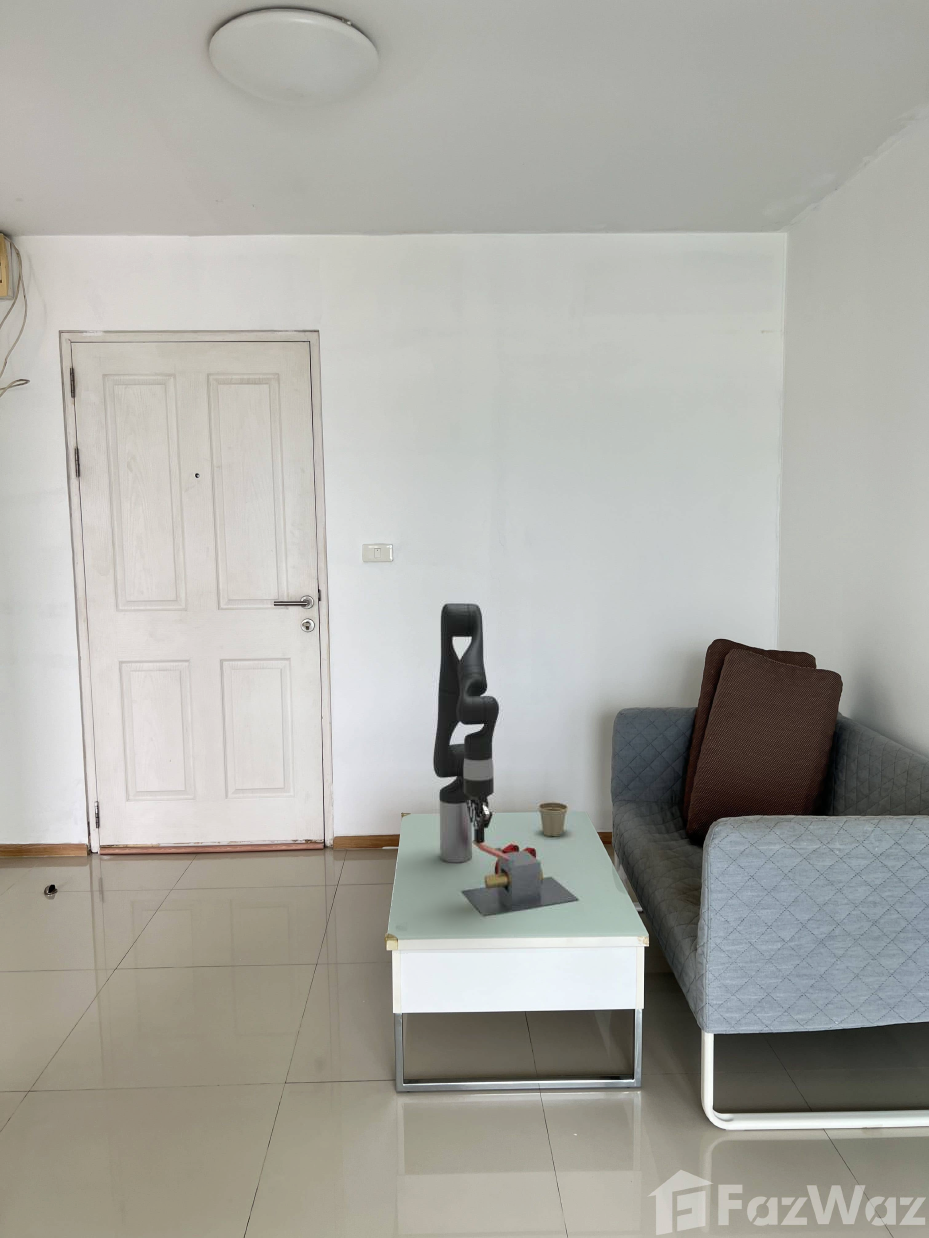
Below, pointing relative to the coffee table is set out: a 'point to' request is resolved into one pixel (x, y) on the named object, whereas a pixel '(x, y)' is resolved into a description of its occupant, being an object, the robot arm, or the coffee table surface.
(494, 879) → the brass pin
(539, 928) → the coffee table surface
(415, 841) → the coffee table surface
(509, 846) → the mechanical linkage
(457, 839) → the robot arm
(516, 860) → the latch base plate
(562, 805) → the flower pot
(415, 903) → the coffee table surface
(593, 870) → the coffee table surface
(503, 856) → the latch flap
